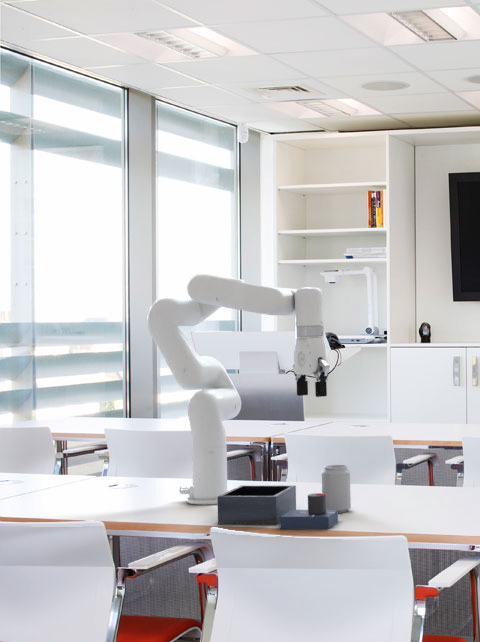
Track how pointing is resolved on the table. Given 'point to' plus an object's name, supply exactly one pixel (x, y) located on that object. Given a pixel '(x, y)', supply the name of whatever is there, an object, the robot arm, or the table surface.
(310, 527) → the panel
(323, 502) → the tap knob
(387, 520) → the table surface
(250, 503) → the open storage bin
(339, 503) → the can
